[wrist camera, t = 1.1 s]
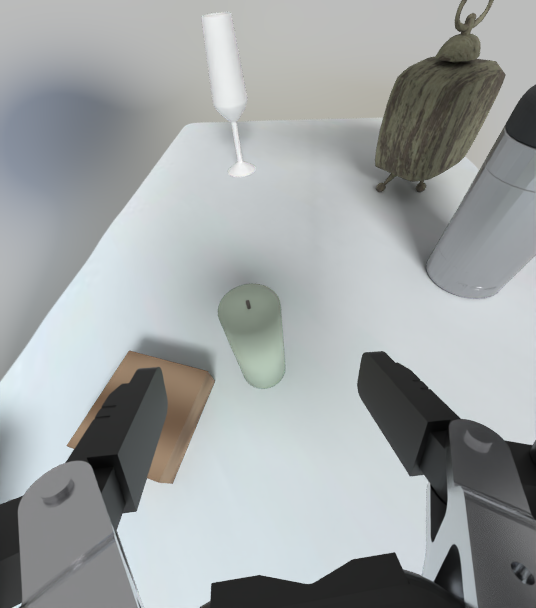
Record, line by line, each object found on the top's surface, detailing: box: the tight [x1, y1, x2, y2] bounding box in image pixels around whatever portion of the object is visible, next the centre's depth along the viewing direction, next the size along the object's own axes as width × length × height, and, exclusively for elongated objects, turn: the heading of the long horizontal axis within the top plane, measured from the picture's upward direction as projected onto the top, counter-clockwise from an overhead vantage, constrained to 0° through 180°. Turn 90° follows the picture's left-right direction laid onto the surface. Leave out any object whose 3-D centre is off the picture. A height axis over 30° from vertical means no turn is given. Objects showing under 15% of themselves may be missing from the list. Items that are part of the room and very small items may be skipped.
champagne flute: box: [201, 12, 256, 177], centre depth 49 cm, size 7×7×24 cm
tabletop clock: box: [375, 0, 505, 192], centre depth 39 cm, size 14×9×25 cm, turn 125°
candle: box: [218, 284, 285, 389], centre depth 25 cm, size 5×5×13 cm
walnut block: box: [67, 351, 215, 484], centre depth 26 cm, size 10×10×3 cm
